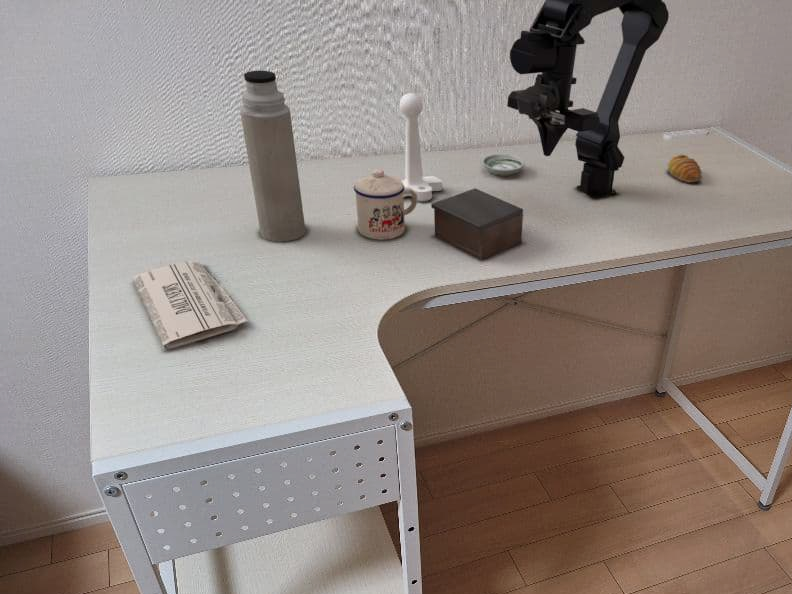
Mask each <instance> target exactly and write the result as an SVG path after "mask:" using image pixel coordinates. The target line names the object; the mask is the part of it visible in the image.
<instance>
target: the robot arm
mask: <svg viewBox="0 0 792 594" xmlns="http://www.w3.org/2000/svg"><path fill="white" fill-rule="evenodd" d="M617 8H618V9H619V11H620V12H621V14H622V16H623V17H622V21H621V24H620V27H621V34H622V43H621V45H620V48H619V50H618V53H617V56H616V58H615V61H614V64H613V66H612V69H611V72H610V75H609V77H608V80H607V82H606V85H605V88H604V90H603V93H602V95H601V98H600V101H599V103H598V106H597V108H596V111H593V110H591V109H587V108H584V107H582V108H575V109H569V108H573V107H574V100H572V99H570V98H571V91H572V85H576V84H577V77H574V76H573V75H574V70H575V69H574V68H575V61H576V55H577V54H576V53H577V47H578V46H580V45H584V44H585V43H586V40H585V39H584V37H583V36H582V35H581V34H580V32H581V31H583V30H584V29H586V28H587V27H588V26H590V25H591V23H592V19H594V18H595V17H597V16H599V15H602V14H604V13H607V12H609V11H612V10H615V9H617ZM669 17H670V13H669V10H668V8H667V4H666V3H665V2H664V1H663V0H545V1H544V2H543V4H542V5H541V8H540V9H539V11H538V13H537V15H536V16H535V19H534V20H533V22H532V24H531V25H530V27H529V30H521V31H520V36H519V37H520V38H518V39H516V40H514V42H513V44H512V46H511V48H510V50H509V60H510V61H509V62H510V64H511V67H512V69H513V70H514V71H515V72H516V73H518V75H531V74H537V75H536V77H535V80H534V81H535V82H534V84H533V85H531V86H528V87H527V88H525V89H519V90H512V91H511V92H510V93H509V94H508V96H507V103H506V107H508V108H510V109H513V110H515V111H518V113H519V114H520V115H526V116H528V119H530V120H531V121H532V122H533V123H534V124H535V125H536V127H537V130H538V134H539V138H540V145H541V148H542V153H543V156H545V157H550V156H551V155H552V153H553V152H554V150H555V149H556V146H557V145H558V143H559V142H560V140H561V139H562V137H563V136H564V134H565V133H566V132H567V130H568V129H569V130H572V131H576V134H575V137H576V138H575V144H574V145H575V149H576V157H577V160H578V161H579V162H583V167H582V171H581V174H580V184H579V185H576V189H577V190H578V191H580V192H582V193H583V194H585V195H587V196H588V197H590V198H592V199H599V198H604V197H609V196H614V195H617V190H615V189H613V187H614V180H615V172H617V171H619V169H620V168H622V167H623V164H624V162H625V161H624V160H625V155H624V154H623V152H622V150H621V149H620V147H619V143H620V139H621V134H620V133H621V132H620V125H619V124H620V123H619V121H620V118H621V115H622V112H623V110H624V108H625V105H626V102H627V100H628V97H629V95H630V92H631V90H632V87H633V85H634V82H635V79H636V77H637V75H638V72H639V69H640V66H641V65H642V62H643V59H644V57H645V55H646V53H647V50H649V49H650V48H651V47H652V46H653V45H654V44H656V42H657V41H658V40H659V39H660V37H661V35H662V33H663V31H664V30H665V28H666V26H667V24H668V22H669Z"/></svg>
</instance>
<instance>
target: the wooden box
mask: <svg viewBox="0 0 792 594" xmlns="http://www.w3.org/2000/svg"><path fill="white" fill-rule="evenodd" d="M433 214H434V215H433V216H434V218H433V219H434V220H433V221H434V238H436V239H438V240H441V241H443V242H445V243H446V244H448V245H451V246H452V247H454V248H456V249H458V250H461V251H462V252H465V253H466V254H468V255H470V256H473V257H474V258H476V259H478V260H480V261H483V260H486V259H488V258H490V257H493V256H495V255H497V254H500V253H502V252H504V251H506V250H509V249H511V248H513V247H516V246H519V245H521V244H522V240H523V220H524V212H523V213H522V214H519V215H517V216H514V217H512V218H509V219H507V220H504V221H502V222H500V223H497V224H495V225H492V226H490V227H487V228H485V229H482V230H477V229H475V228H473V227H471V226H469V225H467V224H465V223H463V222H461V221H458V220H456V219H454V218H452V217H450V216H448V215H446V214H444V213H442V212H440V211H437V210H435V209H433Z"/></svg>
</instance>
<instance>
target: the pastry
mask: <svg viewBox="0 0 792 594" xmlns="http://www.w3.org/2000/svg"><path fill="white" fill-rule="evenodd" d="M667 169H668V172H669V173H670V175H671V176H673V177H675V179H678V181H681V182H685V183H696V182H700V180H701V179H702V170H701V167H700V165H699V164H698V162H697V161H696V160H695V159H694V158H690V157H689V156H688V155H685V154H678V155H676V156H673V158H671V159H670V160H669V162H668V164H667Z"/></svg>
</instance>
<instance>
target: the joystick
mask: <svg viewBox="0 0 792 594" xmlns="http://www.w3.org/2000/svg"><path fill="white" fill-rule="evenodd" d="M423 108H424V104H423V101H422V99H421V97H420V96H419V95H418V94H416V93H413V92H412V93H411V92H409V93H406V94H403V96H402V97H401V98H400V100H399V109H400V111H401V113H402V114H403V115H404V118H405V145H404V147H405V148H404V149H405V151H404V152H405V153H404V155H405V157H404V161H405V162H404V179H402V180H401V179H400V180H401V181H402V183H403V185H404V188H410V189H412V190H414V191H415V192H416V194H417V202H421V203H423V202H428V201H430V200H431V199H432V198H433V192H434V191H435V192H441V191H442V190H443V180H441V179H440V178H438V177H437V176H436V175H435V176H434V175H428V176H423V175H424V174H423V164H422V153H421V141H420V131H419V116H420V115H421V114H422V111H423V110H424V109H423ZM403 197H404V198H405V197H412V193H405V194H403Z"/></svg>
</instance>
